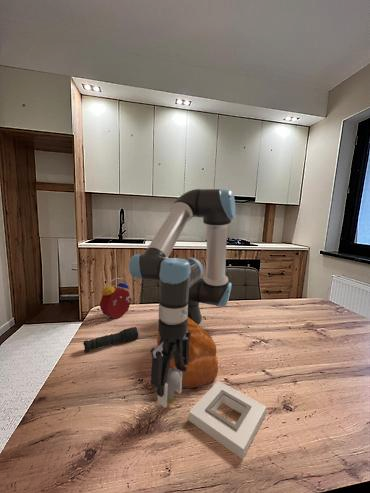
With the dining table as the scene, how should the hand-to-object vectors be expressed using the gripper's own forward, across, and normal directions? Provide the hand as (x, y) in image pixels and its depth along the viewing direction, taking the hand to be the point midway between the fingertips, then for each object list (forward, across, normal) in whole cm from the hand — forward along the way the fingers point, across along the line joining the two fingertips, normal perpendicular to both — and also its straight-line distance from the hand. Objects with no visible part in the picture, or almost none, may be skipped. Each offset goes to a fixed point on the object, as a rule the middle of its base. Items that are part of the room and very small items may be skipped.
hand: (169, 396), depth 64 cm
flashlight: (+4, +8, +37) cm, 38 cm away
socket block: (+3, +8, -14) cm, 16 cm away
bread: (+4, +18, +9) cm, 21 cm away
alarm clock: (+4, +24, +56) cm, 61 cm away
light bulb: (+2, 0, 0) cm, 2 cm away
